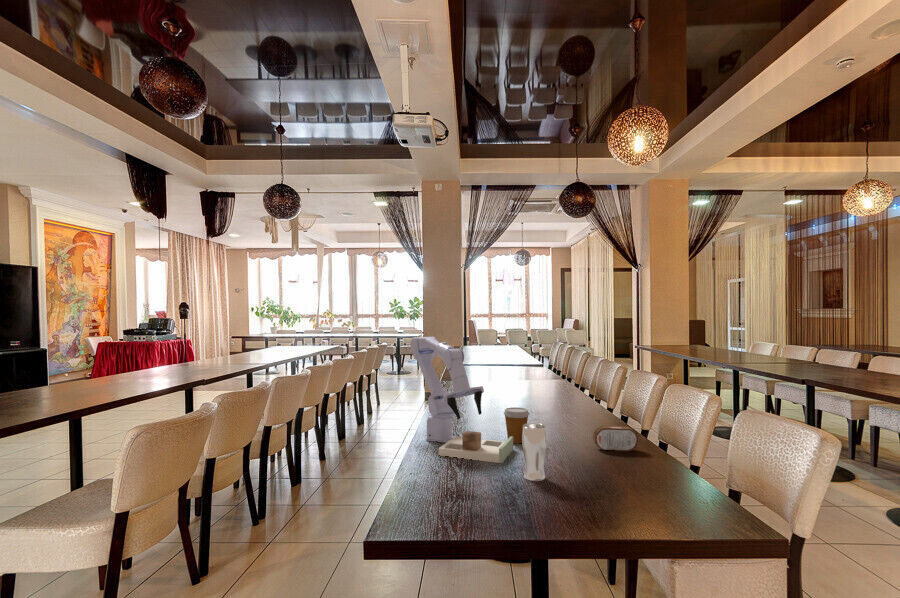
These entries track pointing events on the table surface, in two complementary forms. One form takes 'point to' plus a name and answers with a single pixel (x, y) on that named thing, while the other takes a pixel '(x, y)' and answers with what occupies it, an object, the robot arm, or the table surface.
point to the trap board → (487, 452)
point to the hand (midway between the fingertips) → (469, 416)
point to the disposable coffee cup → (515, 422)
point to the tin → (615, 438)
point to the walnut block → (471, 440)
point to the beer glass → (534, 451)
